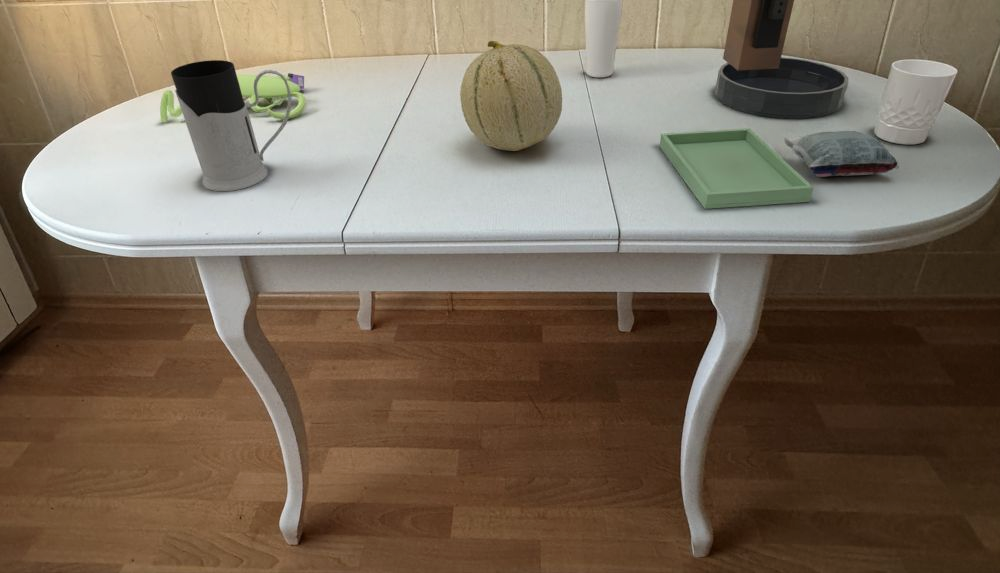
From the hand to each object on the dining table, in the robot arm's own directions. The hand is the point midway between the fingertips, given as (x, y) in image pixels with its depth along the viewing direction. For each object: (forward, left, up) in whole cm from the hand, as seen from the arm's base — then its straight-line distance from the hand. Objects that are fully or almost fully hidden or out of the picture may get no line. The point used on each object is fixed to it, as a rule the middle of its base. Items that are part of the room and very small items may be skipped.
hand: (754, 40), depth 75 cm
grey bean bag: (-14, +2, -17) cm, 22 cm away
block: (0, 0, -3) cm, 3 cm away
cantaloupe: (+29, -12, -17) cm, 35 cm away
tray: (+1, +1, -17) cm, 17 cm away
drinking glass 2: (+9, -44, -17) cm, 48 cm away
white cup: (-28, -7, -17) cm, 34 cm away
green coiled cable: (+76, -38, -17) cm, 86 cm away
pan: (-18, -26, -17) cm, 36 cm away
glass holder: (+66, -8, -17) cm, 68 cm away
